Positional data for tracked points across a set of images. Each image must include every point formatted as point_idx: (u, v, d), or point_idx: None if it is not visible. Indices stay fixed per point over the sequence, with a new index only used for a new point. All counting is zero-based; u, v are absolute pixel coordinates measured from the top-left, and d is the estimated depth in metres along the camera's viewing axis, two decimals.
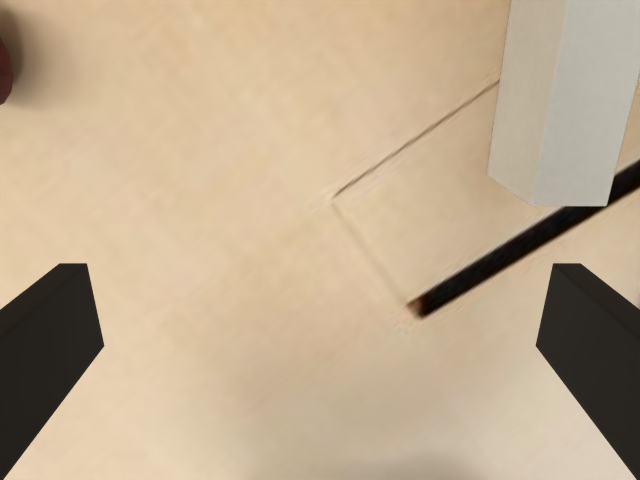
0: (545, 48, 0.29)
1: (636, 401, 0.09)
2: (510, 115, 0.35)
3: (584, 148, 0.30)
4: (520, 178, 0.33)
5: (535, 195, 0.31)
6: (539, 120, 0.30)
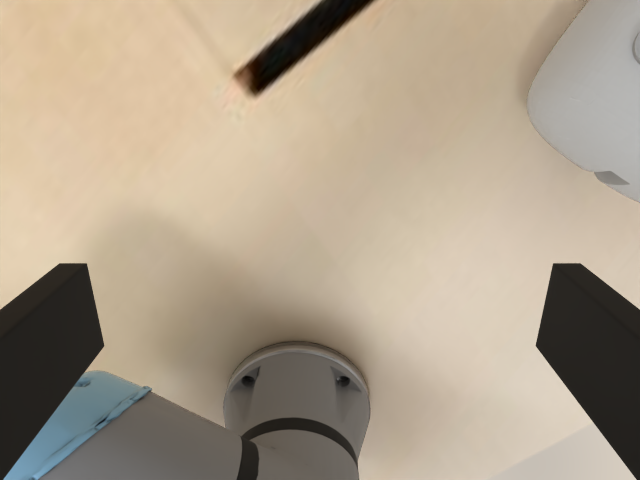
0: None
1: (636, 401, 0.09)
2: None
3: None
4: None
5: None
6: None
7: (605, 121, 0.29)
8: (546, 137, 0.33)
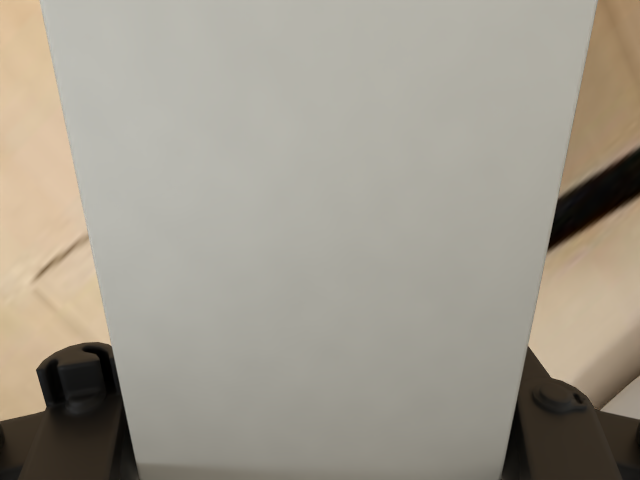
0: None
1: None
2: None
3: (335, 462, 0.06)
4: None
5: None
6: None
7: None
8: None
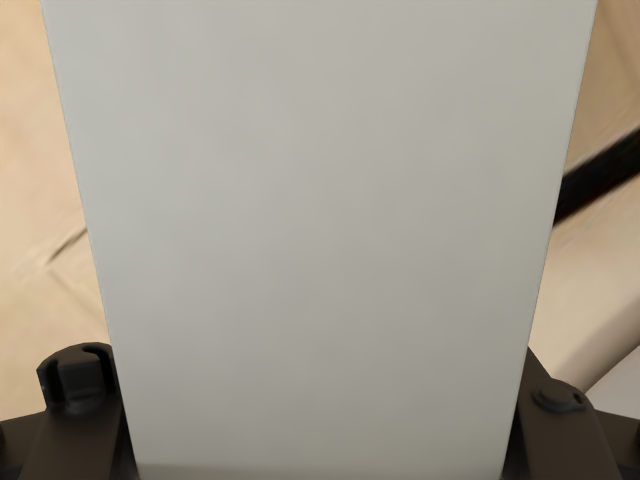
0: None
1: None
2: None
3: (334, 463, 0.06)
4: None
5: None
6: None
7: None
8: None
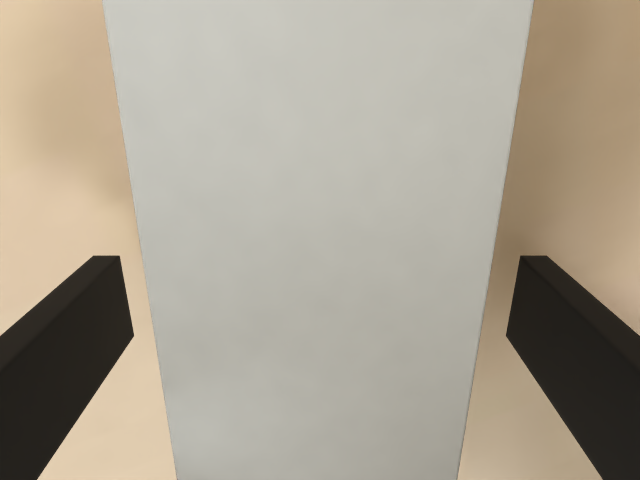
0: None
1: (588, 384, 0.10)
2: None
3: (329, 402, 0.08)
4: None
5: None
6: None
7: None
8: None
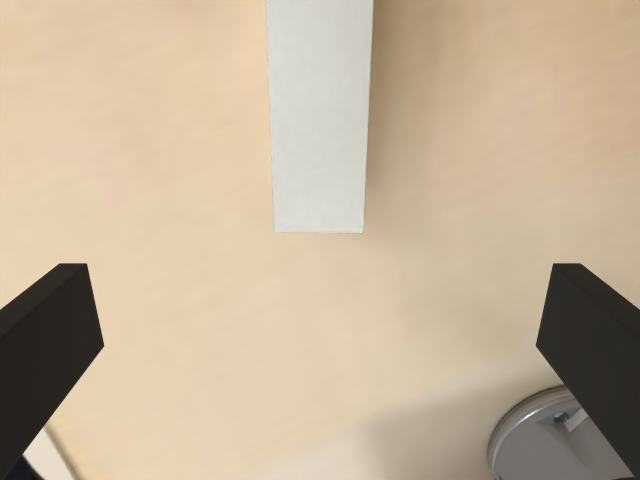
0: None
1: (636, 401, 0.09)
2: None
3: (322, 166, 0.25)
4: None
5: (276, 221, 0.26)
6: None
7: None
8: None
